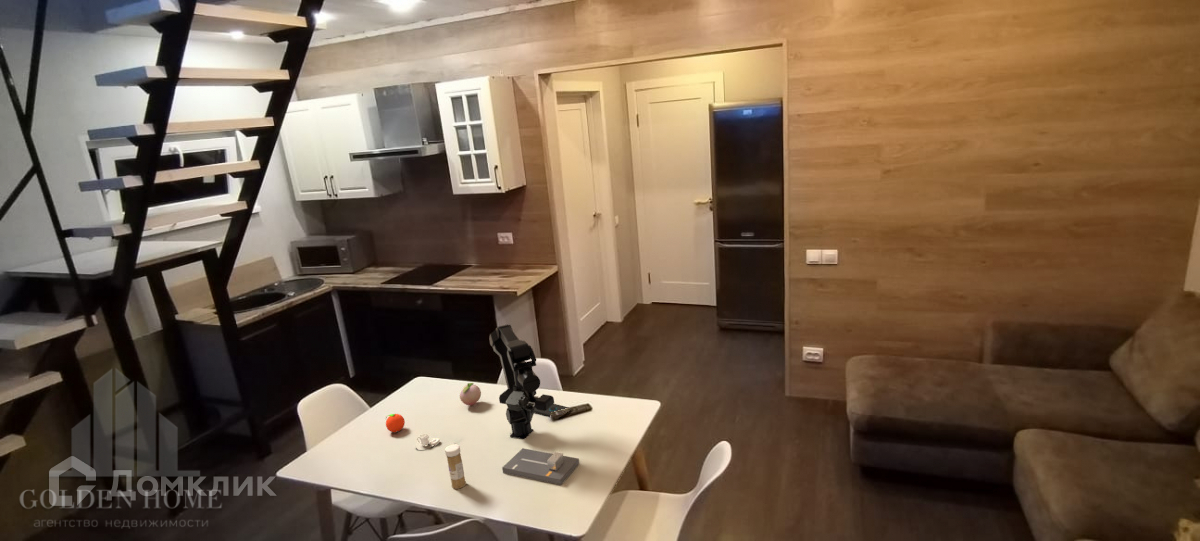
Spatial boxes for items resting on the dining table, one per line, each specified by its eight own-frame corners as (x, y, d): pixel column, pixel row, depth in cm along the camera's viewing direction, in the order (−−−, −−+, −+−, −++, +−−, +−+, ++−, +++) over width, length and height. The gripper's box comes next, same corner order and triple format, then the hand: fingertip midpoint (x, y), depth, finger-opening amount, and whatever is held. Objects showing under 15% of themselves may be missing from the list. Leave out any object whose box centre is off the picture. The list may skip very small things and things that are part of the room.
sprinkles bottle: (449, 486, 184) (441, 448, 181) (460, 479, 188) (453, 442, 184) (457, 491, 181) (450, 453, 178) (469, 483, 185) (462, 446, 181)
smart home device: (557, 416, 219) (519, 406, 231) (558, 421, 219) (519, 410, 231) (571, 407, 225) (533, 397, 237) (571, 411, 226) (533, 401, 238)
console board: (503, 472, 188) (502, 467, 188) (523, 453, 199) (522, 447, 198) (561, 485, 178) (560, 479, 178) (579, 463, 189) (578, 458, 188)
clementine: (381, 434, 223) (378, 417, 221) (393, 425, 229) (390, 409, 228) (398, 436, 220) (394, 419, 218) (410, 427, 226) (406, 411, 225)
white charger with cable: (443, 442, 213) (441, 432, 212) (428, 453, 206) (426, 443, 205) (425, 438, 217) (423, 429, 216) (410, 450, 210) (408, 440, 209)
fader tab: (548, 468, 184) (547, 460, 183) (556, 460, 188) (555, 452, 187) (556, 470, 182) (555, 462, 182) (564, 461, 187) (563, 453, 186)
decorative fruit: (480, 409, 235) (476, 387, 232) (460, 411, 235) (456, 389, 232) (484, 399, 244) (481, 377, 241) (465, 401, 244) (461, 379, 242)
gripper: (486, 387, 189) (492, 429, 193) (534, 395, 181) (540, 439, 185) (505, 372, 199) (512, 413, 203) (552, 379, 190) (557, 421, 194)
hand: (529, 421), depth 196 cm, fingers closed
